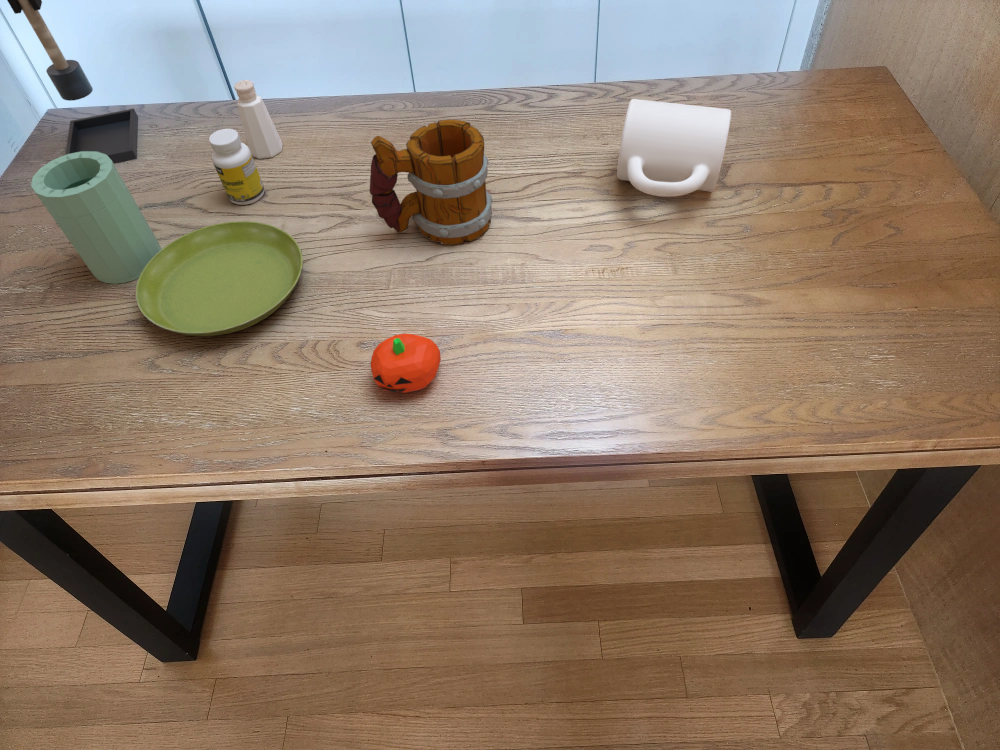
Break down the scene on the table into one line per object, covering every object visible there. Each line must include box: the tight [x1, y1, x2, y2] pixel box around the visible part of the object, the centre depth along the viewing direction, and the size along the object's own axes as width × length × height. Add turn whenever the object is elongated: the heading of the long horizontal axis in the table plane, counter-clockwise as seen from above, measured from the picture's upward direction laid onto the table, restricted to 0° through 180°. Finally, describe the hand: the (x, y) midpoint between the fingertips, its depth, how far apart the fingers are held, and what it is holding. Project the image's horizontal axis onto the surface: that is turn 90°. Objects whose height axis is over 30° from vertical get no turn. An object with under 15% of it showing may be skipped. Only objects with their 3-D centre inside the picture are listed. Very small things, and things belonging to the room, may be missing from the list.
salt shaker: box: [233, 79, 283, 160], centre depth 102 cm, size 5×5×11 cm
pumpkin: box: [370, 332, 442, 394], centre depth 74 cm, size 7×8×6 cm
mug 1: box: [369, 119, 493, 246], centre depth 87 cm, size 11×16×15 cm, turn 108°
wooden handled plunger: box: [17, 0, 94, 102], centre depth 92 cm, size 5×5×24 cm
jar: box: [30, 151, 163, 285], centre depth 86 cm, size 9×9×14 cm
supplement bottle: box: [208, 128, 265, 206], centre depth 95 cm, size 5×5×10 cm
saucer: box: [135, 220, 304, 337], centre depth 85 cm, size 21×21×3 cm
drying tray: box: [64, 108, 139, 165], centre depth 108 cm, size 13×10×2 cm
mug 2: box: [616, 98, 732, 198], centre depth 92 cm, size 16×14×11 cm
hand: (28, 7), depth 92 cm, fingers closed on wooden handled plunger, 2 cm apart
